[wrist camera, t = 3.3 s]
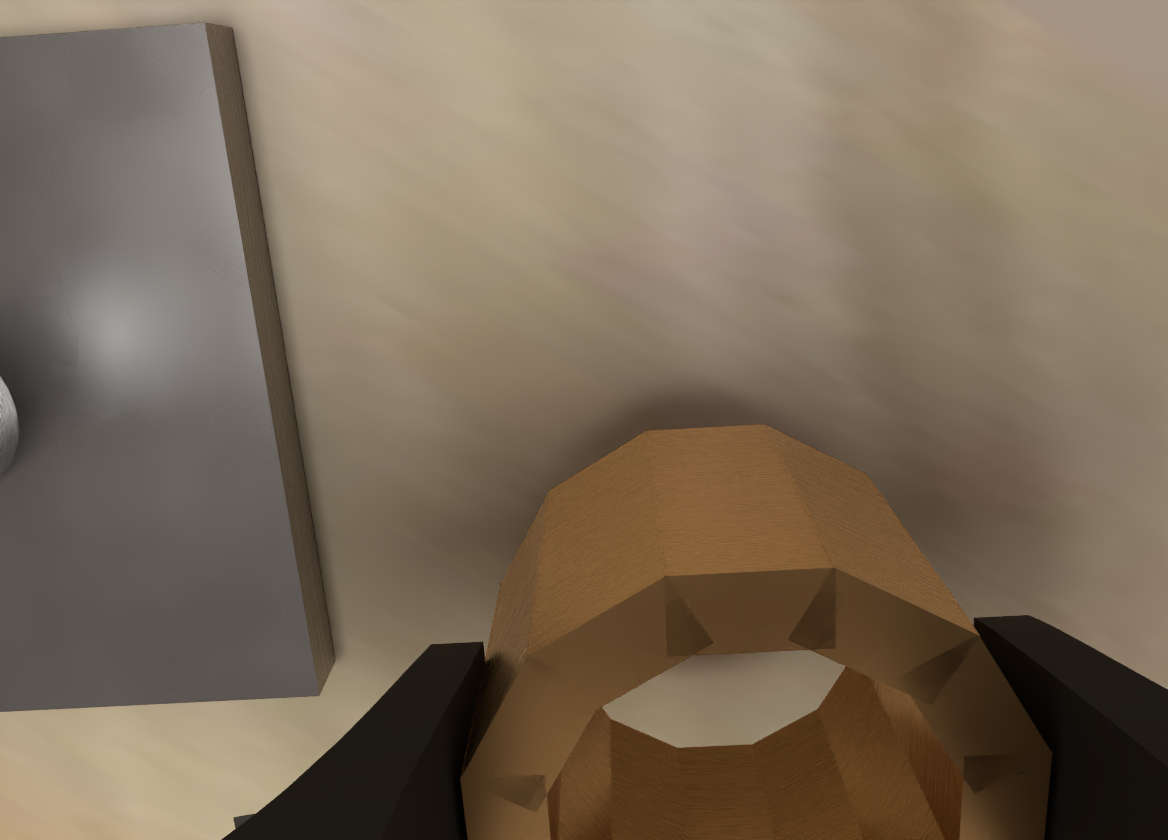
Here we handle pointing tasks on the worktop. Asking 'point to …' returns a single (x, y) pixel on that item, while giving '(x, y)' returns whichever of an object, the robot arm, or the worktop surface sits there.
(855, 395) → the worktop surface
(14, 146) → the piston block
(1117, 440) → the worktop surface
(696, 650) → the bronze ring
